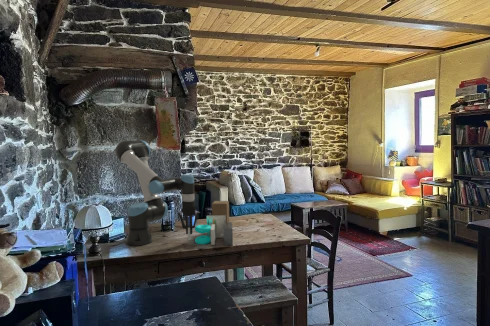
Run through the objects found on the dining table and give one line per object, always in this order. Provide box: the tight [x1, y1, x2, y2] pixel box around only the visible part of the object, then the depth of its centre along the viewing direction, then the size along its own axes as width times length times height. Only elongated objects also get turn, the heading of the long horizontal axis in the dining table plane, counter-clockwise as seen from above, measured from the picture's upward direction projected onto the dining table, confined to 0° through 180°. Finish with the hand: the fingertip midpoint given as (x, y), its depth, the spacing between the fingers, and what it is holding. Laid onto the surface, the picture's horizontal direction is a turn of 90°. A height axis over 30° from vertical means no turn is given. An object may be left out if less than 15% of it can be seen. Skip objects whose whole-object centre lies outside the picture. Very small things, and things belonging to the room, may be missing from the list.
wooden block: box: [211, 200, 230, 222], centre depth 231 cm, size 10×10×20 cm
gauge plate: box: [210, 219, 216, 246], centre depth 209 cm, size 2×15×12 cm, turn 3°
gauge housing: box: [206, 215, 234, 247], centre depth 210 cm, size 16×18×14 cm
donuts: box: [194, 224, 211, 245], centre depth 208 cm, size 10×10×10 cm
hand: (189, 239), depth 207 cm, fingers closed
